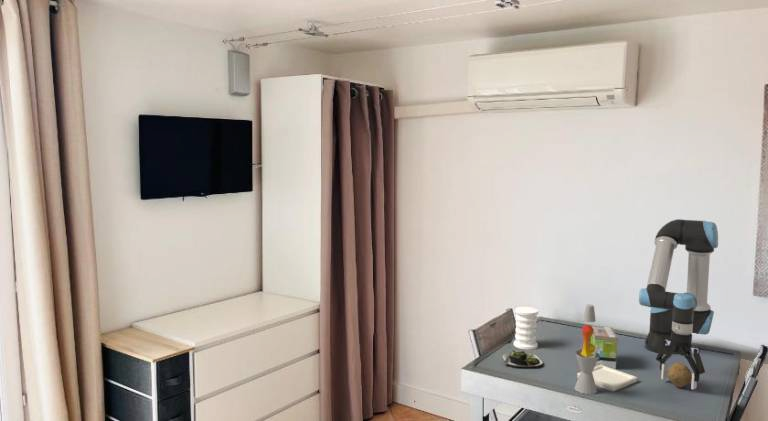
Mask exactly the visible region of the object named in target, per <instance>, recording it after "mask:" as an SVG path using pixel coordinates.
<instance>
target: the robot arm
mask: <svg viewBox="0 0 768 421" xmlns="http://www.w3.org/2000/svg"><path fill="white" fill-rule="evenodd" d="M718 232H719V231H718V226H717V224H716V222H713V221H707V220H693V219H682V218H680V219H679V218H678V219H677V218H676V219H673V220H671V221H669V222H667V223H665V224H664V225H663V226H662V227H661V228H660V229H659V230H658V232H657V233H656V235H655V238H654V245H655V250H654V254H653V258H652V261H651V266H650V271H649V276H648V281H647V284H646V287H645V288H640V290H639V294H638V302H639V305H641V306H643V307H647V308H650V311H649V312H650V316H649V329H648V330H649V331H648V334H647V336H646V338H645V340H644V348H645V349H647V350H648V351H650V352H654V353H657V355H656V357H655V360H656V361H657V362H659V370H660V371H661V378H660V379H661V380H665V379H666V378H667V376H668V375H667V371H668V362H667V361H668V360H669V359H670V358H671V357H672V356H673V355H674V354H677V355H680V356H682V357H684V358H685V359H686V360H687V362H688V365H689V366H690V367H691V370H692V371H693V372H691V374H692V381H691V383H690V384H691V385H690V386H691V387H690V389H691V390H696V389H697V385H698V382H700V375H702V374H705V373H706V370H705V367H704V363H703V361H702V357H701V355H700V350H701V349H700V347H693V346H692V344H693V343H692V342H693V334H696V335H699V334H700V335H708V334H709V333H710V331H711V327H712V323H713V318H714V313H715V311H714V310H713V309H711V305H710V304H709V303H708V296H709V294H708V292H709V278H710V276H709V275H710V260H711V259H710V257H711V256H710V255H711V254H712V253H714V252H715V249H717V248H718V247H719V233H718ZM678 245H681V246H685V247H684V249H685V251H686V252H687V253H688V260H687V261H688V262H687V277H686V278H687V282H686V292H681V293H678V292H672V291H666V290H667V286H668V280H669V276H670V270H671V266H672V261H673V256H674V252H675V251H674V250H676V249H677V248H678ZM691 352H692V353H691ZM692 354H693V355H692Z"/></svg>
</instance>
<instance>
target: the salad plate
mask: <svg viewBox="0 0 768 421" xmlns="http://www.w3.org/2000/svg"><path fill="white" fill-rule="evenodd" d="M502 358H503V363H504V364H505V365H507V366H508V367H510V368H513V369H519V370H520V369H521V370H525V369H526V370H529V369H530V370H531V369H532V370H533V369H538V368H541V367H542V366H543V365H544V364H543V361H542V360H541V359H540V357H538V356H537V355H536V354H534V353H529V352H525V351H523V350H522V351H520V350H518V349H516V350H511V351H510V353H505V354H503V355H502Z"/></svg>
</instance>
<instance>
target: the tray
mask: <svg viewBox="0 0 768 421" xmlns="http://www.w3.org/2000/svg"><path fill="white" fill-rule="evenodd" d="M580 373H581V371H580V372H577V374H576V377H577V379H578V378H579V375H580ZM592 374H593V377H594V381H595V385H596V387H597V386H598V387H601V388H603V389H606V390H608V391H610V392H616V391H618V390H620V389H623V388H625V387H628V386H630V385H633V384H634V383H637V382H638V377H637V376H635V375H632V374H630V373H626V372H624V371H620V370H618V369H616V368H615V369H612V368H609V367H606V366H603V365H599V366H596V367H594V370H593V372H592Z"/></svg>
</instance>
